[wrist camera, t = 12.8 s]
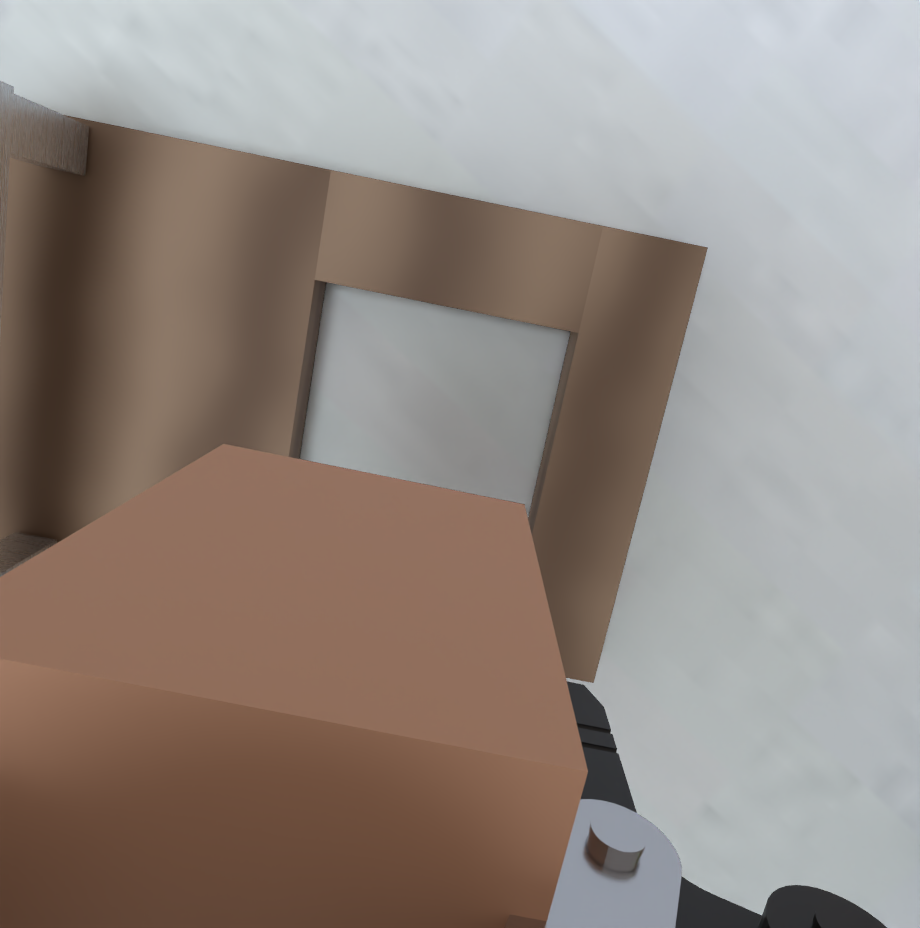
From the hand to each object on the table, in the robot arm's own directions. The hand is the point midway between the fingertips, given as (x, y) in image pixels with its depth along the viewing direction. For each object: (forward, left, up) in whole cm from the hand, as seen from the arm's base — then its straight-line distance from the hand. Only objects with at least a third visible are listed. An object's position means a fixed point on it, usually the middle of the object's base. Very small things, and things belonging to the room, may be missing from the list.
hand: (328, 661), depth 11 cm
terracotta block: (0, 0, -2) cm, 2 cm away
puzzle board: (+6, 0, -17) cm, 18 cm away
